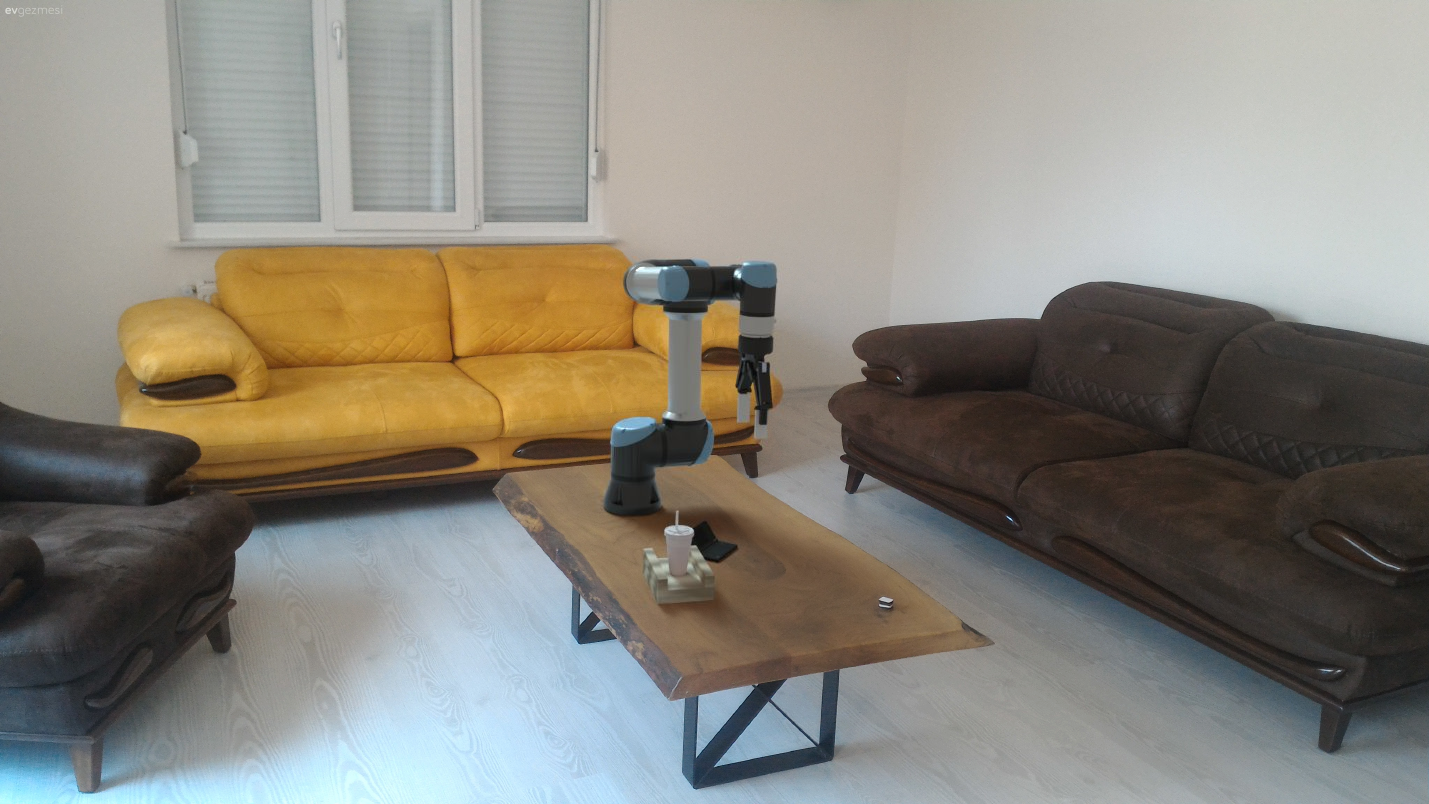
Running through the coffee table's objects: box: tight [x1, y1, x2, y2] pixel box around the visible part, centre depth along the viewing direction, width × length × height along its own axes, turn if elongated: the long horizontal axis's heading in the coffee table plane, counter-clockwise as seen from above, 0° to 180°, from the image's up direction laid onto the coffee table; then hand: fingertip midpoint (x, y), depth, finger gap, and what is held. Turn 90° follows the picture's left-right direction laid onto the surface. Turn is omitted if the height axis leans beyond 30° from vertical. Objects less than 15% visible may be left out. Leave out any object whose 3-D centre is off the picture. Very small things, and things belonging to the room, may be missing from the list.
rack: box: [642, 546, 716, 605], centre depth 220 cm, size 17×12×6 cm
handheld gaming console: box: [691, 519, 738, 563], centre depth 240 cm, size 12×7×10 cm
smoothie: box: [663, 510, 694, 576], centre depth 219 cm, size 6×6×14 cm
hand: (751, 430), depth 223 cm, fingers open, 13 cm apart
